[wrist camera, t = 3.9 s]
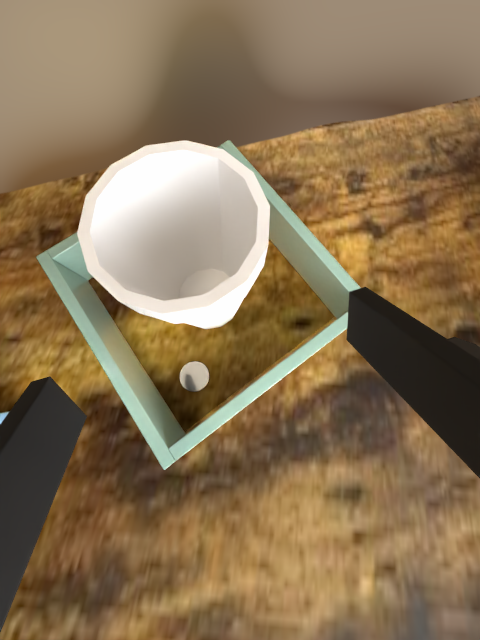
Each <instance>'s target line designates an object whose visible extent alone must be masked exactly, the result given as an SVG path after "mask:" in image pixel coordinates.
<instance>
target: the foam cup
mask: <svg viewBox="0 0 480 640" xmlns="http://www.w3.org/2000/svg"><path fill="white" fill-rule="evenodd" d="M269 219H270V205H269V203H268V201H267V199H266V197H265V195H264V192H263V190H262V188H261V186H260V184H259V182H258V180H257V178H256V176H255V174H254V172H252V171H251V170H250V169H249V168H247V167H246V166H245V165H243V164H242V163H241V162H239V161H238V160H237V159H235V158H234V157H233V156H231V155H230V154H229V153H228V152H226V151H225V150H224V149H219V148H215V147H211V146H207V145H203V144H199V143H194V142H191V141H187V140H184V141H176V142H169V143H162V144H154V145H147V146H144V147H143V148H141V149H139V150H137V151H135V152H133V153H132V154H130V155H128V156H126V157H124V158H122V159H121V160H119V161H117V162H115V163H113V164H112V165H110V166H109V168H108V169H107V170H106V171H105V173H104V174H103V175H102V176H101V178H100V179H99V180H98V181H97V183H96V184H95V185H94V186H93V188H92V189H91V190H90V191H89V193H88V194H87V195H86V197H85V202H84V206H83V210H82V215H81V219H80V223H79V228H78V232H77V235H78V239H79V242H80V246H81V249H82V253H83V256H84V260H85V263H86V267H87V270H88V272H89V273H90V274H91V275H92V276H93V277H94V278H95V279H96V280H97V281H98V282H99V283H100V284H101V285H102V286H103V287H104V288H105V289H106V290H107V291H108V292H109V293H110V294H111V295H112V296H113V297H115V298H116V299H117V300H118V301H119V302H121V303H122V304H124V305H126V306H128V307H129V308H131V309H133V310H135V311H136V312H138V313H140V314H144V315H147V316H150V317H154V318H157V319H161V320H164V321H167V322H171V323H174V324H179V323H186V324H190V325H193V326H196V327H200V328H203V329H211V328H217V327H221V326H223V325H224V324H226V323H227V322H229V321H230V320H232V319H233V317H234V315H235V313H236V312H237V310H238V308H239V307H240V305H241V303H242V301H243V299H244V298H245V297H246V296H247V294H248V292H249V290H250V289H251V287H252V285H253V284H254V282H255V280H256V278H257V277H258V275H259V273H260V272H261V270H262V268H263V267H264V263H265V258H266V253H267V249H268V241H269Z"/></svg>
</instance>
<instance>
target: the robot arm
mask: <svg viewBox="0 0 480 640" xmlns="http://www.w3.org/2000/svg"><path fill="white" fill-rule="evenodd" d="M347 341H348V342H349V343H350V344H351V345H352V346H353V347H354V348H355V349H356V350H357V351H358V352H359V353H360V354H361V355H362V356H363V357H364V358H365V359H366V360H367V361H368V362H369V364H370V365H371V366H372V367H373V368H374V369H375V370H376V371H377V372H378V373H379V374H380V375H381V376H382V377H383V378H384V379H385V380H386V381H387V382H388V383H389V384H390V385H391V386H392V387H393V388H394V390H395V391H396V392H397V393H398V394H399V395H400V396H401V397H402V398H403V399H404V400H405V401H406V402H407V403H408V404H409V405H410V406H411V407H412V408H413V409H414V410H415V411H416V412H417V413H418V414H419V416H420V417H421V418H422V419H423V420H424V421H425V422H426V423H427V424H428V425H429V426H430V427H431V428H432V429H433V430H434V431H435V432H436V433H437V434H438V435H439V436H440V437H441V438H442V439H443V441H444V442H445V443H446V444H447V445H448V446H449V447H450V448H451V449H452V450H453V451H454V452H455V453H456V454H457V455H458V456H459V457H460V458H461V459H462V460H463V461H464V462H465V463H466V464H467V465H468V467H469V468H470V469H471V470H472V471H473V472H474V473H475V474H476V475H477V476H478V477H479V478H480V347H479V346H477V345H476V344H473V343H470V342H467V341H465V340H462V339H459V338H456V337H453V338H450V339H446V338H445V337H443V336H441V335H440V334H438V333H437V332H435V331H434V330H432V329H431V328H429V327H427V326H426V325H424V324H423V323H421V322H420V321H418V320H416V319H415V318H413V317H412V316H410V315H409V314H407V313H405V312H404V311H402V310H401V309H399V308H398V307H396V306H395V305H393V304H391V303H390V302H388V301H387V300H385V299H384V298H382V297H380V296H379V295H377V294H376V293H374V292H373V291H371V290H370V289H368V288H366V287H364V288H360V289H357V290H353V291H349V306H348V324H347ZM86 417H87V416H86V415H85V414H84V413H83V412H82V411H81V410H80V408H79V407H78V406H77V405H76V404H75V403H74V402H73V401H72V400H71V399H70V398H69V397H68V395H67V394H66V393H65V392H64V391H63V390H62V389H61V388H60V387H59V386H58V385H57V384H56V382H55V381H54V380H53V379H52V378H51V377H47V378H43V379H40V380H36V381H33V382H31V383H30V384H29V386H28V387H27V388H26V390H25V391H24V393H23V394H22V395H21V397H20V398H19V399H18V401H17V402H16V403H15V405H14V406H13V408H12V409H11V410H10V412H9V413H8V414H7V416H6V417H5V419H4V420H3V421H2V423H1V424H0V632H1V629H2V627H3V624H4V622H5V619H6V617H7V614H8V612H9V609H10V607H11V604H12V602H13V599H14V597H15V594H16V592H17V589H18V587H19V584H20V582H21V579H22V577H23V574H24V572H25V569H26V567H27V564H28V562H29V559H30V557H31V554H32V552H33V549H34V547H35V544H36V542H37V539H38V537H39V534H40V532H41V529H42V527H43V524H44V522H45V519H46V517H47V514H48V512H49V510H50V507H51V505H52V502H53V500H54V497H55V495H56V492H57V490H58V487H59V485H60V482H61V480H62V477H63V475H64V472H65V470H66V467H67V465H68V462H69V460H70V457H71V455H72V452H73V450H74V447H75V445H76V442H77V440H78V437H79V435H80V432H81V430H82V427H83V425H84V422H85V420H86Z"/></svg>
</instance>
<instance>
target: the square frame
mask: <svg viewBox="0 0 480 640" xmlns="http://www.w3.org/2000/svg"><path fill="white" fill-rule="evenodd" d="M217 148H219V149H224V150H225V151H226V152H228V153H229V154H230V155H231V156H233V157H234V158H235V159H237V160H238V161H239V162H241V163H242V164H243V165H245V166H246V167H247V168H249V169H250V170H251V171H252V172H254V174H255V176H256V178H257V180H258V182H259V184H260V186H261V188H262V190H263V192H264V195H265V197H266V199H267V201H268V203H269V205H270V219H269V239H270V240H271V241H272V242H273V244H274V245H275V246H276V247H277V248H278V250H279V251H280V252H281V253H282V254H283V256H284V257H285V258H286V259H287V260H288V261H289V263H290V264H291V265H292V266H293V267H294V269H295V270H296V271H297V272H298V273H299V275H300V276H301V277H302V278H303V279H304V281H305V282H306V283H307V284H308V285H309V286H310V288H311V289H312V290H313V291H314V292H315V294H316V295H317V296H318V297H319V298H320V300H321V301H322V302H323V303H324V304H325V306H326V307H327V308H328V309H329V310H330V311H331V313H332V314H333V315H334V316H335V317H334V318H333V319H331V320H330V321H329V322H327V323H326V324H325V325H324V326H322V327H321V328H320V329H318V330H317V331H316V332H314V333H313V334H312V335H310V336H309V337H308V338H306V339H305V340H304V341H303V342H301V343H300V344H299V345H297V346H296V347H295V348H293V349H292V350H291V351H289V352H288V353H287V354H285V355H284V356H283V357H282V358H280V359H279V360H278V361H276V362H275V363H274V364H272V365H271V366H270V367H268V368H267V369H266V370H264V371H263V372H262V373H261V374H259V375H258V376H257V377H255V378H254V379H253V380H251V381H250V382H249V383H247V384H246V385H245V386H243V387H242V388H241V389H240V390H238V391H237V392H236V393H234V394H233V395H232V396H230V397H229V398H228V399H226V400H225V401H224V402H222V403H221V404H220V405H219V406H217V407H216V408H215V409H213V410H212V411H211V412H209V413H208V414H207V415H205V416H204V417H203V418H201V419H200V420H199V421H198V422H196V423H195V424H194V425H192V426H191V427H190V428H188V429H187V430H186V431H185V432H184V431H183V429H182V428H181V426H180V424H179V423H178V421H177V420H176V418H175V417H174V415H173V413H172V412H171V410H170V409H169V407H168V406H167V404H166V402H165V401H164V399H163V398H162V396H161V395H160V393H159V391H158V390H157V388H156V387H155V385H154V384H153V382H152V380H151V379H150V377H149V376H148V374H147V373H146V371H145V369H144V368H143V366H142V365H141V363H140V362H139V360H138V358H137V357H136V355H135V354H134V352H133V351H132V349H131V347H130V346H129V344H128V343H127V341H126V340H125V338H124V336H123V335H122V333H121V332H120V330H119V329H118V327H117V325H116V324H115V322H114V321H113V319H112V318H111V316H110V314H109V313H108V311H107V310H106V308H105V307H104V305H103V303H102V302H101V300H100V299H99V297H98V296H97V294H96V292H95V291H94V289H93V288H92V286H91V285H90V283H89V281H88V280H90V279H92V278H93V276H92V275H91V274H90V273H89V272H88V270H87V267H86V263H85V260H84V256H83V253H82V249H81V246H80V242H79V239H78V235H77V232H76V233H74V234H73V235H71V236H69V237H68V238H66V239H64V240H63V241H61V242H59V243H58V244H56V245H55V246H53V247H51V248H50V249H48V250H47V251H45V252H43V253H41V254H40V255H38V256H36V258H37V260H38V261H39V263H40V265H41V266H42V268H43V270H44V271H45V273H46V275H47V276H48V278H49V280H50V281H51V283H52V285H53V286H54V288H55V290H56V291H57V293H58V295H59V296H60V298H61V300H62V301H63V303H64V304H65V306H66V308H67V309H68V311H69V313H70V314H71V316H72V318H73V319H74V321H75V323H76V324H77V326H78V328H79V329H80V331H81V333H82V334H83V336H84V338H85V339H86V341H87V343H88V344H89V346H90V348H91V349H92V351H93V353H94V354H95V356H96V358H97V359H98V361H99V363H100V364H101V366H102V368H103V369H104V371H105V373H106V374H107V376H108V378H109V379H110V381H111V383H112V384H113V386H114V388H115V389H116V391H117V393H118V394H119V396H120V398H121V399H122V401H123V403H124V404H125V406H126V408H127V409H128V411H129V413H130V414H131V416H132V418H133V419H134V421H135V423H136V424H137V426H138V428H139V429H140V431H141V433H142V434H143V436H144V438H145V439H146V441H147V443H148V444H149V446H150V448H151V449H152V451H153V453H154V454H155V456H156V458H157V459H158V461H159V463H160V464H161V466H162V468H163V469H166V468H167V467H169V466H170V465H171V464H173V463H174V462H175V461H176V460H178V459H179V458H180V457H182V456H183V455H184V454H185V453H187V452H188V451H189V450H191V449H192V448H193V447H195V446H196V445H197V444H198V443H200V442H201V441H202V440H204V439H205V438H206V437H207V436H209V435H210V434H211V433H213V432H214V431H215V430H216V429H218V428H219V427H220V426H222V425H223V424H224V423H225V422H227V421H228V420H229V419H231V418H232V417H233V416H234V415H236V414H237V413H238V412H240V411H241V410H242V409H244V408H245V407H246V406H247V405H249V404H250V403H251V402H253V401H254V400H255V399H256V398H258V397H259V396H260V395H262V394H263V393H264V392H265V391H267V390H268V389H269V388H271V387H272V386H273V385H274V384H276V383H277V382H278V381H280V380H281V379H282V378H284V377H285V376H286V375H287V374H289V373H290V372H291V371H293V370H294V369H295V368H296V367H298V366H299V365H300V364H302V363H303V362H304V361H305V360H307V359H308V358H309V357H311V356H312V355H313V354H314V353H316V352H317V351H318V350H320V349H321V348H322V347H323V346H325V345H326V344H327V343H329V342H330V341H331V340H333V339H334V338H335V337H336V336H338V335H339V334H340V333H342V332H343V331H344V330H345V329H347V324H348V306H349V291H353V290H357V289H360V287H359V286H358V284H357V283H356V282H355V281H354V280H353V279H352V278H351V277H350V275H349V274H348V273H347V272H346V271H345V270H344V269H343V268H342V266H341V265H340V264H339V263H338V262H337V261H336V260H335V259H334V257H333V256H332V255H331V254H330V253H329V252H328V251H327V250H326V248H325V247H324V246H323V245H322V244H321V243H320V242H319V241H318V239H317V238H316V237H315V236H314V235H313V234H312V233H311V231H310V230H309V229H308V228H307V227H306V226H305V225H304V224H303V222H302V221H301V220H300V219H299V218H298V217H297V216H296V215H295V213H294V212H293V211H292V210H291V209H290V208H289V207H288V206H287V204H286V203H285V202H284V201H283V200H282V199H281V198H280V197H279V195H278V194H277V193H276V192H275V191H274V190H273V189H272V188H271V186H270V185H269V184H268V183H267V182H266V181H265V180H264V178H263V177H262V176H261V175H260V174H259V173H258V172H257V171H256V169H255V168H254V167H253V166H252V165H251V164H250V163H249V162H248V160H247V159H246V158H245V157H244V156H243V155H242V154H241V153H240V151H239V150H238V149H237V148H236V147H235V146H234V145H233V144H232V142H231V141H230V140H228V141H226V142H225V143H223V144H222V145H221V146H218V147H217ZM208 381H209V371H208V368H207V367H206V366H205V365H204V364H203V363H201V362H198V361H192V362H189V363H187V364H186V365H184V367H183V368H182V369H181V372H180V382H181V384H182V386H183V387H184V388H185V389H186V390H188V391H192V392H196V391H199V390H201V389H203V388H204V387H205V386H206V385H207V383H208Z"/></svg>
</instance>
